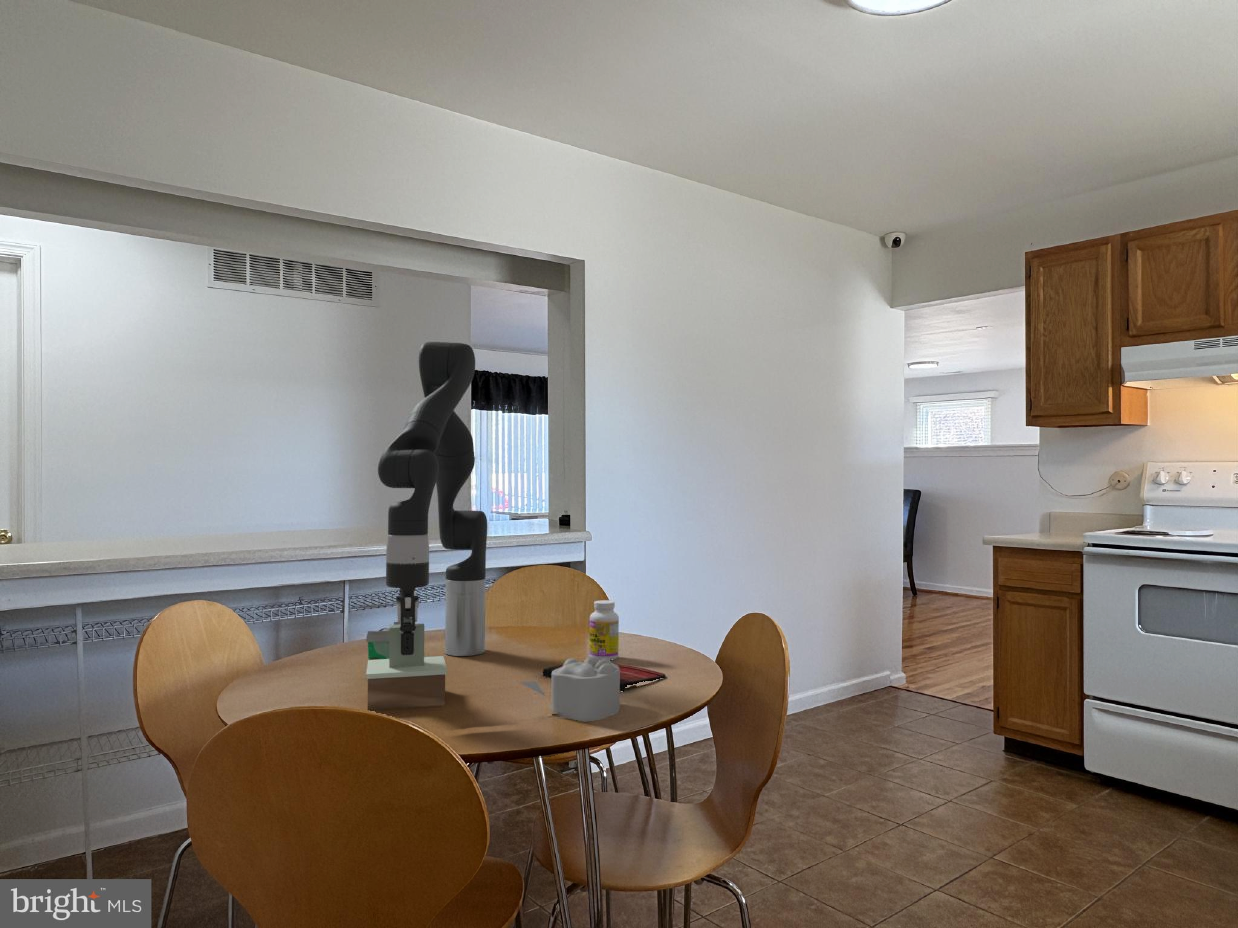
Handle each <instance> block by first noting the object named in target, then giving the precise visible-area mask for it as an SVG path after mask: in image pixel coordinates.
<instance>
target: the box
mask: <svg viewBox="0 0 1238 928" xmlns="http://www.w3.org/2000/svg"><path fill="white" fill-rule="evenodd" d="M439 706H446V674H444V675H426V676H409V677H392V678H375V679H367V711H378V710H379V711H380V710H381V711H382V710H396V709H408V708H409V709H410V708H423V707H424V708H426V707H439Z"/></svg>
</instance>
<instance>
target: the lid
mask: <svg viewBox="0 0 1238 928" xmlns="http://www.w3.org/2000/svg"><path fill="white" fill-rule="evenodd" d="M403 625H404V624H403ZM415 626H416V631H415V633H414V653H413V654H412V655H402V654H401V634H400V625H394V624H389V628H390V646H389V659H378V660H369V659H368V660H367V666H366V673H365V679H366V680H368V679H375V678H392V677H409V676H426V675H444V674H445V675H448V667H447V665H446V661H445V657H444V656H443V655H440V656H439V655H437V656H425V624H424V623H415Z"/></svg>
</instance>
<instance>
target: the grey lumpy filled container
mask: <svg viewBox="0 0 1238 928" xmlns="http://www.w3.org/2000/svg"><path fill="white" fill-rule="evenodd" d="M616 664H617V663H614V664H613V662H611V660H609V659H602V660H600V661H599V659H597V658H595V657H590V656H589V657H587V658H586V659H585V660H584V661H582V662H581V661H579V660H577V659H576V658H572V657H571V658H568V659H566V660H565V661H564V663H563V664H562V665H563V667H561V668H558V669H555V670H553V671H552V678H551V685H550V686H551V692H550V693H551V697H550V698H551V699H550V701H551V704H550V705H551V711H552V712H555V713H552V714H551V716H553V717H556V718H562V719H569V720H573V721H576V720H578V722H583V723H584V722H587V723H588V721H591V722H595V721H594V720H598V721H601V720H600V719H602V720H604V719H607V718H609V717H608V716H610V717H612V716H613V715H612V714H614V715H616V714H617V712H618V711H619V712H620V710H621V708H620V707H621V706H620V704H621V701H620V700H621V699H620V697H621V692H620V669H619V667H618V666H617V665H616ZM619 712H618V713H619ZM615 713H616V714H615ZM611 715H612V716H611ZM606 717H607V718H606Z"/></svg>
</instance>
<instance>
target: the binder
mask: <svg viewBox="0 0 1238 928" xmlns="http://www.w3.org/2000/svg"><path fill="white" fill-rule="evenodd" d="M612 663H613V662H612ZM613 664H616V665H617V666H618V667H619V669H620V691H623V692H622V693H625V692H624V691H626V688H625V687H627V685H633V684H637V683H639V682H643V681H644V682H645V681H653V680H656V679H660V678H664V677H665V678H666V674H665V673H663V672H659V671H655V670H650V669H647V668H643V667H636V666H632V665H627V664H626V665H624V664H619V663H613ZM563 665H564V664H561V665H556V666H550V667H546V668H543V670H542V677H543V676H546V677H545V678H547V677H549V679H552V671H553V670H555V669H558V668H561V667H563ZM665 678H664V679H665Z"/></svg>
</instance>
